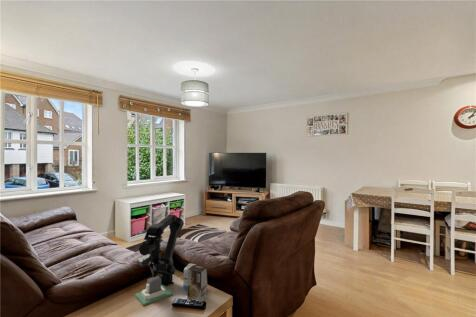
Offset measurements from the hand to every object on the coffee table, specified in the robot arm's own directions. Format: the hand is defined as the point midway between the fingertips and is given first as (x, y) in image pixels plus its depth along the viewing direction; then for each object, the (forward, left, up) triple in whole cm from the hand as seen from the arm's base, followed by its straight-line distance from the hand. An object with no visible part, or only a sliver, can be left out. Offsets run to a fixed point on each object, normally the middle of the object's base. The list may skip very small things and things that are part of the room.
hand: (154, 277), depth 133 cm
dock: (0, 0, -10) cm, 10 cm away
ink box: (-20, +4, -10) cm, 23 cm away
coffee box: (-17, +17, -10) cm, 26 cm away
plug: (0, 0, -9) cm, 9 cm away
